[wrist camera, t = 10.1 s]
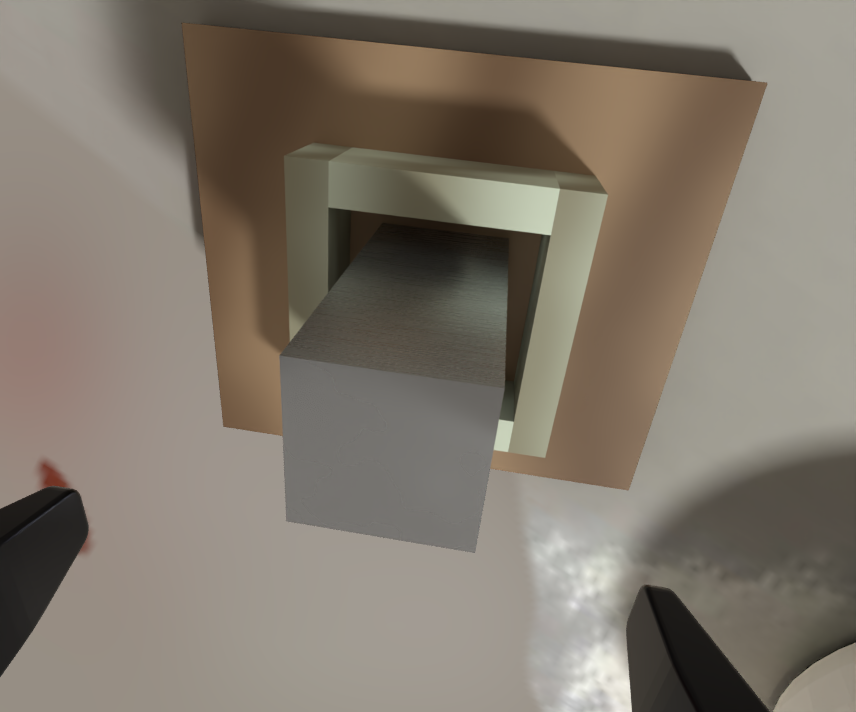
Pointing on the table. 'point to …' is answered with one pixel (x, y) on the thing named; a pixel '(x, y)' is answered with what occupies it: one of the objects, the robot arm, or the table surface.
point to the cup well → (467, 214)
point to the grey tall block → (399, 389)
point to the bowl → (824, 685)
